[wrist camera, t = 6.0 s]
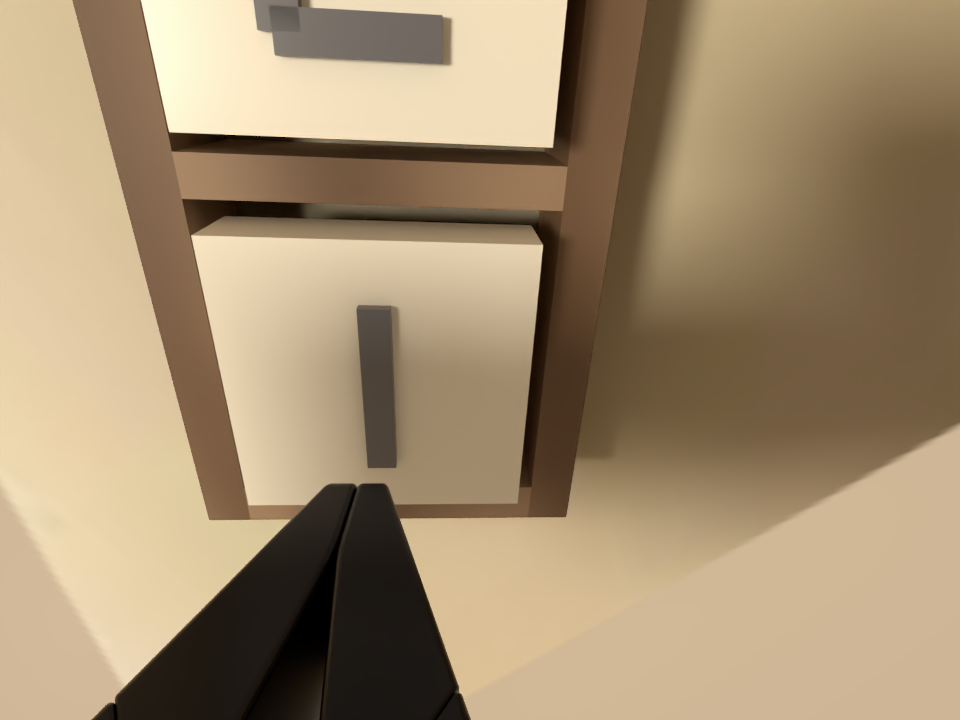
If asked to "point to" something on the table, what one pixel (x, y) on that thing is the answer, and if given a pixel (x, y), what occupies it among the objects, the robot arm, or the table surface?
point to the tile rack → (377, 181)
